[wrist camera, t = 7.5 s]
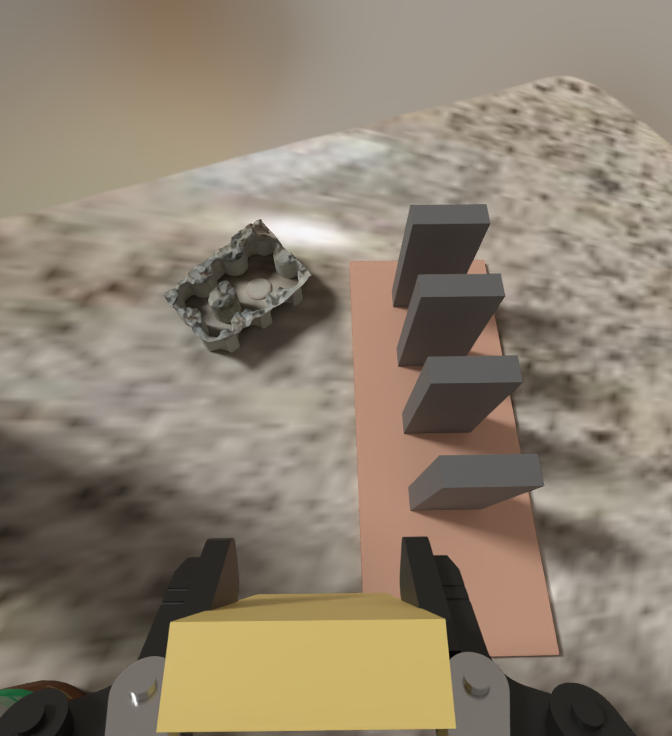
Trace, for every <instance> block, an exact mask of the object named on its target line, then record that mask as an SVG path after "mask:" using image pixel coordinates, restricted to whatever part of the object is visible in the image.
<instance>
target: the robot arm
mask: <svg viewBox="0 0 672 736" xmlns="http://www.w3.org/2000/svg"><path fill="white" fill-rule="evenodd" d="M238 592H239V574H238V564H237V555H236V546H235V540H234V538H209V539H207V541H206V543H205V546H204V549H203V552H202V554H201V557H200V558H187V559H186V560H185V561H184V563H183V564H182V565H181V566H180V567H179V568H178V569H177V570H176V571H175V573H174V575H173V578H172V580H171V582H170V585H169V587H168V591H167V592H166V594H165V597H164V599H163V601H162V605H161V606H160V608H159V611H158V613H157V615H156V618H155V620H154V623H153V625H152V627H151V630H150V632H149V634H148V637H147V639H146V642H145V644H144V646H143V649H142V651H141V653H140V656H139V658H138V660H137V661H136V662H134V663H132V664H131V665H129V666H128V667H127V668H126V669H124V670H123V671H122V672H121V674H120V675H119V676H118V677H117V678H116V680H115V681H114V683H113V685H111V686H109V687H107V688H105V689H103V690H100V691H98V692H95V693H92V694H89V695H86V696H83V697H79V698H76V699H73V700H70V701H68V700H67V697H66V696H65V694H64V693H63V692H62V691H60V690H57V689H52V688H49V689H42V690H38V691H35V692H33V693H30V694H28V695H26V696H25V697H23V698H21V699H20V700H18V701H17V702H16V703H14V704H13V705H12V706H11V707H10V708H9V709H8V710H7V711H6V712H5V713H4V714H3V715H2V716H1V717H0V736H192V735H193V732H156V730H157V722H158V714H159V706H160V698H161V691H162V683H163V675H164V667H165V659H166V651H167V643H168V635H169V628H170V622H172V621H175V620H178V619H181V618H185V617H188V616H191V615H194V614H197V613H200V612H203V611H211V610H214V609H217V608H220V607H223V606H226V605H229V604H232V603H235V602H237V599H238ZM400 595H401V600H402V601H404V602H406V603H408V604H411V605H413V606H415V607H417V608H419V609H424V610H426V611H428V612H431V613H433V614H435V615H437V616H440V617H442V618H444V619H445V620H446V630H447V640H448V651H449V661H450V671H451V681H452V692H453V702H454V712H455V722H456V729H435V730H436V735H437V736H636V735H635V734H634V732H633V731H632V730H631V729H630V727H629V726H628V725H627V723H626V722H625V721H624V720H623V718H622V717H621V716H620V715H619V713H618V712H617V711H616V710H615V708H614V707H613V706H612V705H611V704H610V703H609V701H607V700H606V699H605V698H604V697H603V696H602V695H600V694H599V693H598V692H596V691H595V690H593V689H591V688H589V687H587V686H585V685H581V684H578V683H563V684H561V685H558V686H557V687H556V688H555V689H554V690H553V692H552V694H550V693H547V692H543V691H540V690H537V689H534V688H531V687H527V686H525V685H522V684H519V683H517V682H515V681H514V680H512V679H510V678H509V677H507V676H506V675H505V674H504V673H503V672H502V670H501V669H500V668H499V666H498V665H497V664H495V663H494V662H493V661H492V659H491V657H490V655H489V653H488V650H487V647H486V645H485V642H484V639H483V636H482V633H481V630H480V627H479V624H478V622H477V619H476V616H475V613H474V610H473V607H472V604H471V602H470V600H469V596H468V593H467V590H466V588H465V584H464V581H463V578H462V575H461V573H460V570H459V568H458V567H457V566H456V565H455V563H454V562H453V561H452V560H451V559H450V558H449V557H448V555H433V552H432V548H431V545H430V541H429V538H428V537H427V536H415V537H402V543H401V560H400Z"/></svg>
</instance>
